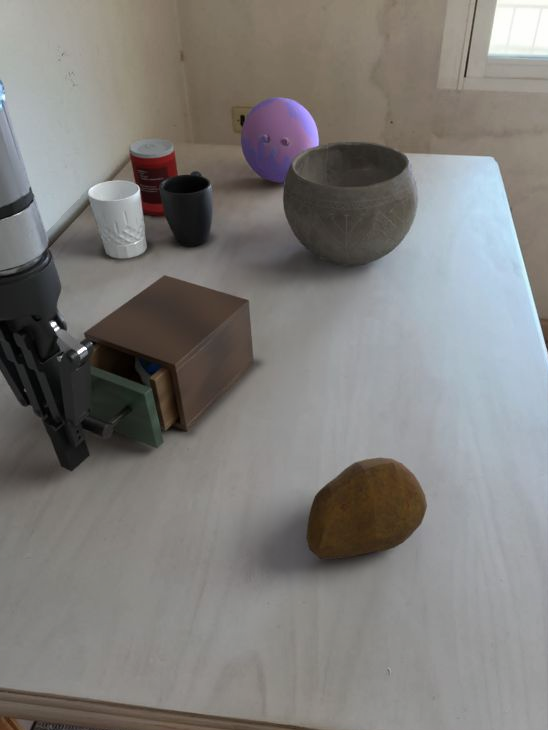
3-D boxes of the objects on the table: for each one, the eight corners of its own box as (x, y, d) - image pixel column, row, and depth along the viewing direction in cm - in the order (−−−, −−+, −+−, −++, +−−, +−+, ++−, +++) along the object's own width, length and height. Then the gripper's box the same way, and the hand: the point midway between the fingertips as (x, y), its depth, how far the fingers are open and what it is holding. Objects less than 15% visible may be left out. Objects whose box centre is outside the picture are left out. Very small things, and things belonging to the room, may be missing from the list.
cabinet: (187, 431, 72) (175, 365, 66) (102, 398, 76) (83, 332, 70) (253, 363, 82) (249, 299, 75) (175, 337, 86) (164, 274, 79)
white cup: (110, 265, 100) (96, 204, 94) (95, 245, 105) (81, 186, 98) (157, 253, 104) (146, 194, 97) (140, 234, 108) (129, 176, 102)
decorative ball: (239, 194, 121) (232, 110, 111) (248, 165, 132) (243, 86, 122) (316, 196, 121) (317, 112, 111) (319, 166, 132) (320, 88, 122)
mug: (227, 221, 113) (222, 167, 106) (209, 252, 104) (203, 196, 97) (182, 217, 113) (174, 164, 107) (161, 248, 105) (152, 192, 98)
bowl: (266, 270, 100) (261, 175, 90) (310, 216, 114) (310, 129, 104) (394, 293, 95) (404, 196, 85) (423, 234, 109) (434, 145, 99)
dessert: (206, 344, 73) (168, 356, 68) (199, 392, 76) (162, 406, 72) (159, 316, 76) (120, 326, 72) (154, 364, 79) (116, 376, 75)
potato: (293, 509, 64) (291, 449, 58) (403, 489, 66) (412, 429, 60) (312, 579, 58) (312, 519, 52) (433, 553, 60) (446, 494, 54)
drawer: (129, 476, 66) (114, 421, 61) (48, 440, 70) (27, 386, 64) (225, 380, 78) (219, 328, 72) (151, 355, 82) (140, 303, 76)
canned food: (168, 195, 121) (159, 135, 113) (190, 209, 116) (182, 147, 109) (132, 205, 117) (120, 144, 109) (153, 220, 112) (142, 157, 105)
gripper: (-96, 256, 50) (3, 462, 66) (24, 298, 46) (98, 507, 62) (-19, 220, 55) (55, 420, 71) (96, 254, 50) (147, 459, 66)
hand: (75, 460), depth 66 cm, fingers closed
